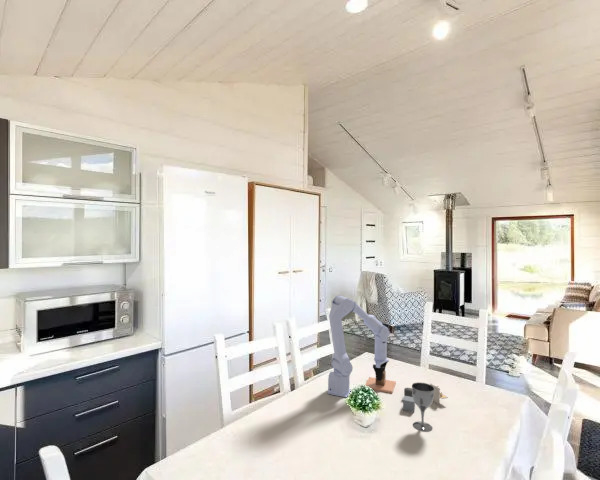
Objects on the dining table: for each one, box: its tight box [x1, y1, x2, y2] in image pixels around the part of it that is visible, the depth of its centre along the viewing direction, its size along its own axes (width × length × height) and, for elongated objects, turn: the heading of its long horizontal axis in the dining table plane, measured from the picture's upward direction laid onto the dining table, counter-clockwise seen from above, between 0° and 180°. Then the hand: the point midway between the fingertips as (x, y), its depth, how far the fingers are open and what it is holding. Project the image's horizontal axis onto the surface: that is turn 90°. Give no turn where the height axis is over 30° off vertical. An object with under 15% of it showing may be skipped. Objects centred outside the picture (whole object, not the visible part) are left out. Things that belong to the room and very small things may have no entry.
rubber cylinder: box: [403, 387, 413, 397], centre depth 153 cm, size 4×4×4 cm
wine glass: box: [411, 382, 434, 433], centre depth 130 cm, size 8×8×15 cm
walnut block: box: [376, 370, 387, 386], centre depth 166 cm, size 4×4×6 cm
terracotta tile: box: [364, 376, 397, 394], centre depth 166 cm, size 13×12×1 cm
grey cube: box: [402, 396, 416, 413], centre depth 144 cm, size 4×4×4 cm
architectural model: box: [429, 383, 448, 405], centre depth 150 cm, size 3×7×7 cm, turn 21°
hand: (380, 377), depth 166 cm, fingers open, 6 cm apart
